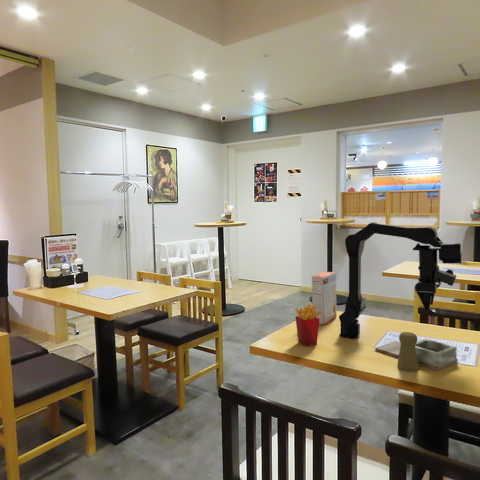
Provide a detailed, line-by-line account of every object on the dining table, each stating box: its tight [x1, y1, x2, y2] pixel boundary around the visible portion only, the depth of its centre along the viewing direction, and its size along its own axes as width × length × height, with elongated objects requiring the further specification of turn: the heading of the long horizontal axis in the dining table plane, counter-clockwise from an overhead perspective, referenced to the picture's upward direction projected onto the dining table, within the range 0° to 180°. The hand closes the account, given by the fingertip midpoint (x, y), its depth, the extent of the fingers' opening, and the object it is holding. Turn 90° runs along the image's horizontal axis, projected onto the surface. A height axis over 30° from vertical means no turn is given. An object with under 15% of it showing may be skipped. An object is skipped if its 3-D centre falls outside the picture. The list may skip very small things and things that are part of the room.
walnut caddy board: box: [374, 338, 459, 372], centre depth 132 cm, size 22×12×5 cm, turn 35°
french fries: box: [294, 303, 322, 347], centre depth 145 cm, size 9×8×15 cm
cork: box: [396, 331, 419, 373], centre depth 122 cm, size 6×6×11 cm
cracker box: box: [311, 271, 337, 326], centre depth 175 cm, size 14×6×21 cm, turn 145°
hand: (429, 307), depth 138 cm, fingers open, 9 cm apart
